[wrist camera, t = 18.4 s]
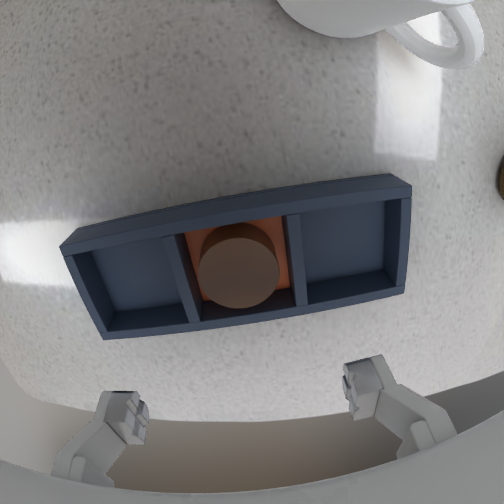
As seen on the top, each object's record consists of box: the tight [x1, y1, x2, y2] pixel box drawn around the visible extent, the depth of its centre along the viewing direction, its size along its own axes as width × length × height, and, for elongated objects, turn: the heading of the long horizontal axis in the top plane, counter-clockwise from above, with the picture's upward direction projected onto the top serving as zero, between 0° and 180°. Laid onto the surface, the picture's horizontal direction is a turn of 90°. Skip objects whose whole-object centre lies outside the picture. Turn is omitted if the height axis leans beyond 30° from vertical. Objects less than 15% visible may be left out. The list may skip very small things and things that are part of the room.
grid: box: [59, 174, 412, 340], centre depth 21 cm, size 8×23×3 cm, turn 99°
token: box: [197, 222, 280, 308], centre depth 20 cm, size 5×5×2 cm
